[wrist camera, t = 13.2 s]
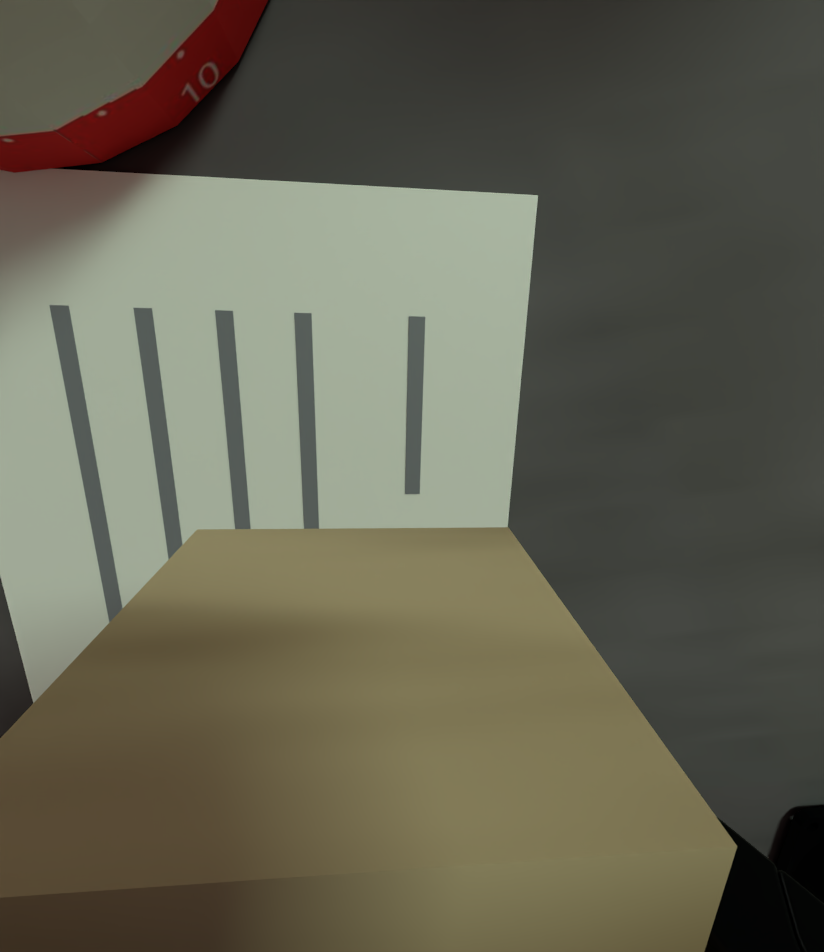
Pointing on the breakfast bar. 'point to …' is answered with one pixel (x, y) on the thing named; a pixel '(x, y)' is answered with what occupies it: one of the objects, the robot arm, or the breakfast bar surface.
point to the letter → (241, 374)
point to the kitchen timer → (108, 72)
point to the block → (349, 765)
